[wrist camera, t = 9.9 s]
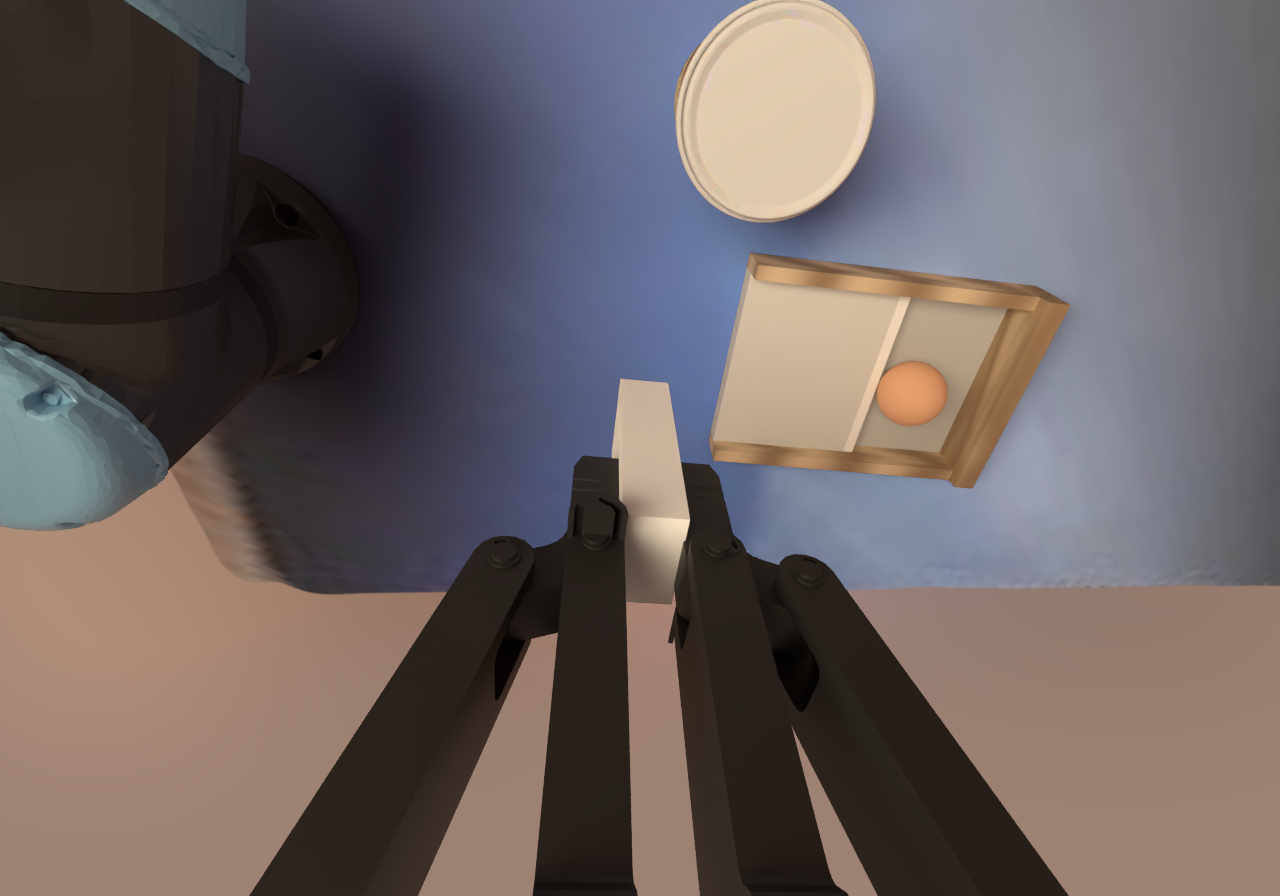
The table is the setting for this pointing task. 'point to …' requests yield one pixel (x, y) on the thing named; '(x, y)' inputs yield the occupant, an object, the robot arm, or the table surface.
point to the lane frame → (986, 400)
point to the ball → (912, 393)
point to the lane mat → (841, 365)
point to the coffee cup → (775, 108)
